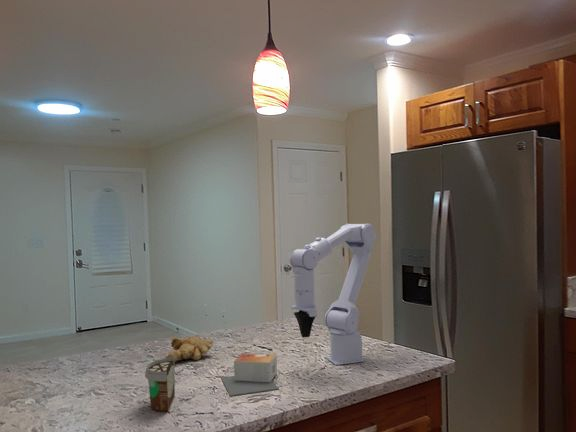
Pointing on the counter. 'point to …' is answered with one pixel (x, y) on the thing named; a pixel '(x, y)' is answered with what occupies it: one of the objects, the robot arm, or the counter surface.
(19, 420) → the counter surface
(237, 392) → the mat
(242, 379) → the small box
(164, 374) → the food container
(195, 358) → the ginger root
